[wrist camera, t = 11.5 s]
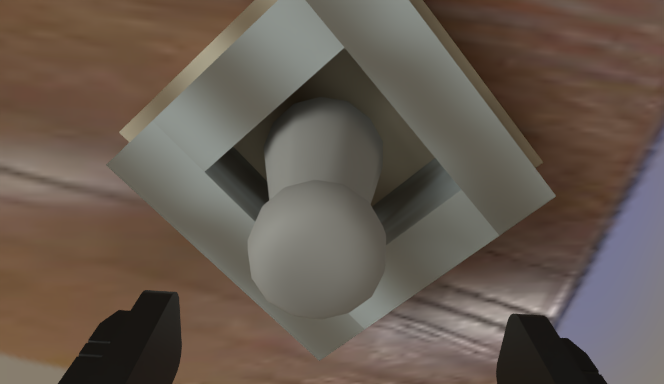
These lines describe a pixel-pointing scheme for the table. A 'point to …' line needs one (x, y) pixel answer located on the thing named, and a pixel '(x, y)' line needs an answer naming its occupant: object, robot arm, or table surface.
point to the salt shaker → (319, 211)
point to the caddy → (371, 99)
